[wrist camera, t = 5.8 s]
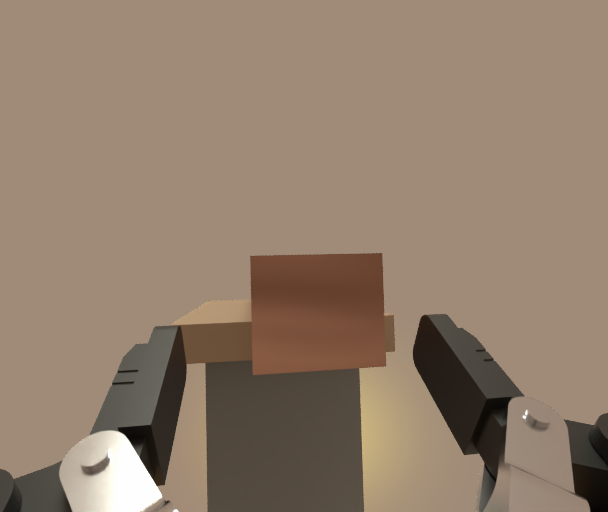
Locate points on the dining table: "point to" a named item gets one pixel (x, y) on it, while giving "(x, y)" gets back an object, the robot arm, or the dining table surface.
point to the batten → (317, 312)
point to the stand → (274, 422)
